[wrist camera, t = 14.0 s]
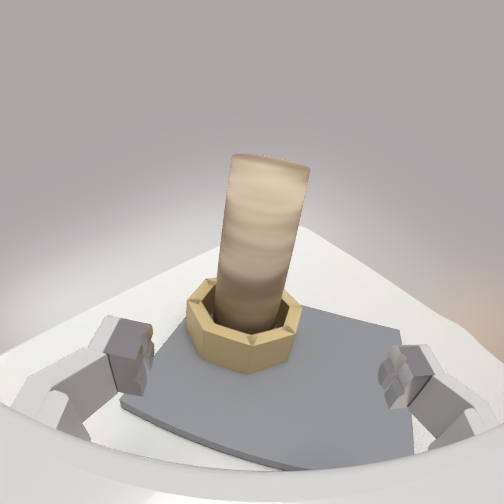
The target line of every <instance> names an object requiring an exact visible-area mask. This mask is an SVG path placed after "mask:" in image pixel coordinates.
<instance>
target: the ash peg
mask: <svg viewBox="0 0 504 504" xmlns="http://www.w3.org/2000/svg"><path fill="white" fill-rule="evenodd" d="M309 173H310V168H309V167H307V166H305V165H302V164H300V163H297V162H293V161H290V160H286V159H281V158H276V157H271V156H264V155H255V154H235V155H232V158H231V165H230V172H229V180H228V187H227V195H226V203H225V211H224V220H223V228H222V236H221V245H220V253H219V263H218V272H217V281H216V291H215V301H214V311H213V322H214V323H215V324H218V325H221V326H224V327H227V328H230V329H233V330H236V331H239V332H242V333H246V334H249V335H254V334H258V333H262V332H265V331H269V330H273V329H274V326H275V322H276V318H277V314H278V310H279V306H280V302H281V298H282V294H283V290H284V286H285V282H286V277H287V273H288V269H289V265H290V260H291V256H292V252H293V248H294V243H295V239H296V234H297V230H298V225H299V221H300V216H301V212H302V207H303V202H304V198H305V193H306V188H307V183H308V178H309Z"/></svg>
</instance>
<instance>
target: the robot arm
mask: <svg viewBox="0 0 504 504" xmlns="http://www.w3.org/2000/svg"><path fill="white" fill-rule="evenodd" d="M152 335H153V329H152V325H151V324H147V323H142V322H137V321H132V320H128V319H123V318H117V317H113V316H109V315H108V316H106V317H105V318H104V320H103V321H102V323H101V325H100V326H99V328H98V330H97V332H96V333H95V335H94V337H93V339H92V340H91V342H90V344H89V346H88V348H81V349H80V350H78V351H76V352H74V353H72V354H70V355H68V356H67V357H65V358H63V359H61V360H59V361H57V362H55V363H54V364H52V365H50V366H48V367H46V368H44V369H42V370H41V371H39V372H37V373H35V374H33V375H31V376H29V377H28V378H27V379H26V381H25V383H24V384H23V386H22V388H21V390H20V391H19V393H18V395H17V397H16V398H15V400H14V402H13V404H12V406H11V407H8V406H6V405H5V404H3V403H1V402H0V504H504V423H503V424H501V425H500V424H499V422H498V420H497V418H496V416H495V414H494V412H493V411H492V409H491V407H490V405H489V403H488V402H487V401H486V400H484V399H483V398H481V397H480V396H479V395H477V394H476V393H475V392H473V391H472V390H470V389H469V388H468V387H466V386H465V385H463V384H462V383H461V382H459V381H458V380H456V379H455V378H454V377H452V376H451V375H450V374H445V372H444V370H443V369H442V367H441V365H440V364H439V362H438V360H437V358H436V357H435V355H434V353H433V352H432V350H431V348H430V347H429V346H428V345H426V344H423V345H394V346H393V347H391V348H390V350H389V352H388V353H387V354H388V358H387V359H386V360H385V361H383V362H382V364H381V366H380V367H379V371H378V381H379V384H380V386H381V387H382V388H383V389H384V390H385V394H384V397H385V400H386V403H387V405H388V408H389V409H399V408H407V409H408V410H409V411H410V412H411V413H412V414H413V415H414V416H415V417H416V418H417V419H418V420H419V421H420V422H421V424H422V425H423V426H424V427H425V428H426V429H427V430H428V431H429V432H430V433H431V434H432V435H433V436H434V437H435V438H436V440H435V441H434V442H433V443H431V444H430V445H429V447H428V450H429V451H426V452H422V453H418V454H414V455H410V456H406V457H402V458H397V459H393V460H388V461H382V462H377V463H371V464H365V465H358V466H351V467H343V468H333V469H322V470H307V471H243V470H228V469H217V468H208V467H199V466H192V465H185V464H179V463H173V462H167V461H162V460H157V459H152V458H148V457H143V456H139V455H135V454H131V453H127V452H123V451H119V450H116V449H112V448H109V447H105V446H102V445H99V444H96V443H93V442H90V441H91V438H90V436H89V434H88V432H87V431H86V429H85V427H84V425H83V424H82V422H84V421H85V420H86V419H87V418H89V417H90V416H91V415H92V414H93V413H95V412H96V411H97V410H98V409H99V408H101V407H102V406H103V405H104V404H105V403H107V402H108V401H109V400H110V399H111V398H113V397H114V396H115V395H116V394H117V393H118V392H121V393H126V394H131V395H135V396H141V397H143V394H144V391H145V388H146V384H147V375H146V374H147V373H148V372H150V371H151V368H152V365H153V359H154V343H153V342H152V341H151V338H152Z"/></svg>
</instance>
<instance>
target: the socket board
mask: <svg viewBox="0 0 504 504" xmlns="http://www.w3.org/2000/svg"><path fill="white" fill-rule="evenodd" d="M216 281H217V278H210V279H205V280H204V282H203V283H202V284H201V285H200V286H199V287H198V288H197V289H196V291H195V292H194V293H193V294H192V295H191V296H190V297H189V299H188V300H187V311H186V317H185V318H184V320H183V321H182V322H181V323H180V325H179V326H178V327H177V328H176V330H175V331H174V332H173V333H172V335H171V336H170V337H169V338H168V340H167V341H166V342H165V343H164V344H163V346H162V347H161V348H160V349H159V351H158V352H157V353H156V354H155V356H154V359H153V365H152V368H151V371H150V372H148V373H147V374H146V375H147V384H146V388H145V391H144V394H143V397H141V396H135V395H131V394H126V393H124V394H123V396H122V397H121V398H120V399H119V400H120V403H121V406H122V408H124V409H126V410H127V411H129V412H131V413H133V414H135V415H137V416H139V417H141V418H143V419H145V420H147V421H149V422H151V423H153V424H155V425H157V426H159V427H161V428H164V429H166V430H168V431H170V432H173V433H175V434H177V435H179V436H182V437H184V438H187V439H189V440H191V441H194V442H196V443H199V444H202V445H204V446H207V447H209V448H212V449H215V450H218V451H221V452H223V453H226V454H229V455H232V456H235V457H239V458H242V459H245V460H248V461H252V462H255V463H259V464H262V465H266V466H270V467H274V468H278V469H282V470H286V471H307V470H322V469H333V468H343V467H351V466H358V465H365V464H371V463H377V462H382V461H388V460H393V459H397V458H402V457H406V456H410V455H414V441H413V426H412V414H411V412H410V411H409V410H408V409H407V408H399V409H389V408H388V405H387V403H386V400H385V397H384V394H385V390H384V389H383V388H382V387H381V386H380V384H379V381H378V371H379V367H380V366H381V364H382V362H383V361H385V360H386V359H387V358H388V354H387V353H388V352H389V350H390V348H391V347H393V346H394V345H402V342H401V336H400V331H399V330H397V329H393V328H389V327H385V326H381V325H377V324H373V323H368V322H364V321H360V320H356V319H353V318H349V317H345V316H341V315H337V314H333V313H329V312H326V311H322V310H318V309H314V308H310V307H307V306H303V305H300V304H299V303H298V302H297V301H296V300H295V299H294V298H293V297H292V296H291V295H290V294H289V293H288V292H287V291H286V290H285V289H284V290H283V294H282V298H281V302H280V306H279V310H278V314H277V318H276V322H275V326H274V329H273V330H269V331H265V332H262V333H258V334H254V335H249V334H246V333H242V332H239V331H236V330H233V329H230V328H227V327H224V326H221V325H218V324H215V323H214V322H213V311H214V301H215V291H216Z"/></svg>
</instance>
